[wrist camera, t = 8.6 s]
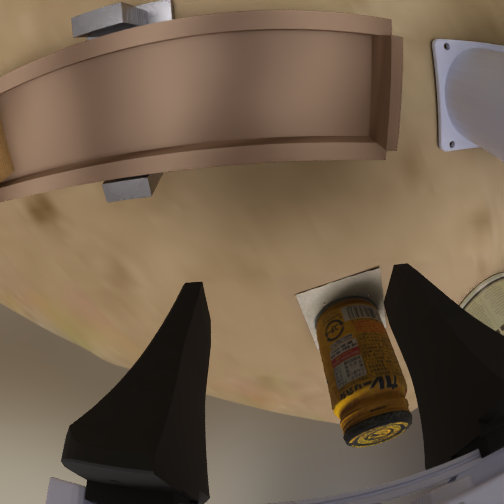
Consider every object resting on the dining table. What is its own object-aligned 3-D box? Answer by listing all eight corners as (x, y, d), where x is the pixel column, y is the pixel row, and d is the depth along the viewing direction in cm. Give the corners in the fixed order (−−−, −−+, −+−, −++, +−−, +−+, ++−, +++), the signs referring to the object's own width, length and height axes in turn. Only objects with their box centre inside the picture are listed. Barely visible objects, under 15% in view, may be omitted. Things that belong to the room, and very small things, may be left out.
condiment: (317, 348, 31) (340, 458, 21) (295, 293, 26) (322, 429, 16) (385, 325, 30) (424, 430, 20) (378, 265, 25) (437, 390, 15)
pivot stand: (172, 0, 13) (150, -16, 9) (191, 164, 19) (179, 202, 15) (91, 21, 13) (46, 18, 9) (117, 174, 19) (88, 214, 15)
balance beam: (363, 19, 12) (402, 13, 8) (361, 142, 16) (393, 172, 12) (-38, 102, 12) (-81, 123, 8) (-13, 192, 16) (-49, 224, 12)
